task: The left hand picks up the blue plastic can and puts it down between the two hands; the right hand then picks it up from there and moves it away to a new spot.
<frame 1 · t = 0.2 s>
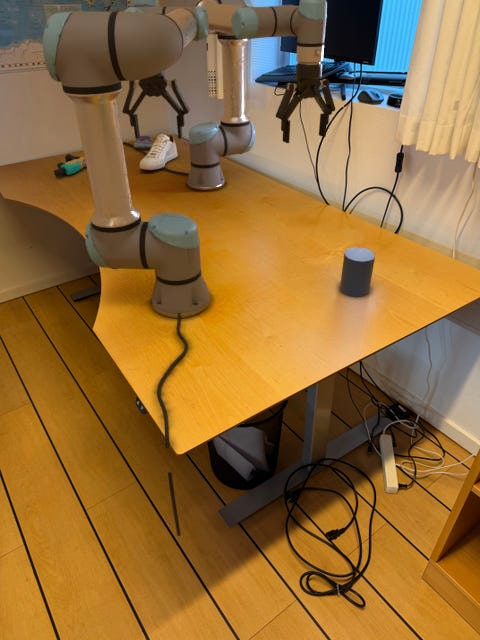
left hand: (158, 137, 149), 29 cm above the table, tool pointing down, fingers open, 13 cm apart
right hand: (304, 139, 149), 28 cm above the table, tool pointing down, fingers open, 13 cm apart
toy gun: (152, 147, 240), on the table
sneaker: (158, 164, 218), on the table
toy gun 2: (71, 170, 213), on the table
can: (354, 289, 130), on the table
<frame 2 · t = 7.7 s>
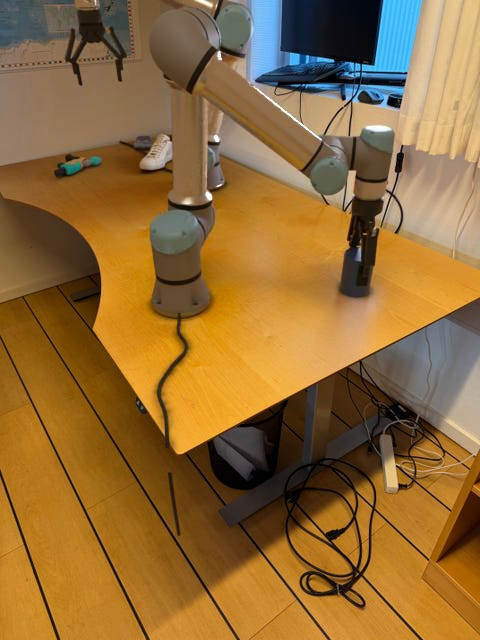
left hand: (356, 276, 127), 4 cm above the table, tool pointing down, fingers closed on can, 8 cm apart
right hand: (100, 83, 162), 40 cm above the table, tool pointing down, fingers open, 13 cm apart
can: (354, 289, 130), on the table, touching left hand
everything else where it was.
when the left hand's fingers open (5 cm above the table, at t = 14.7 s): can drops 1 cm, on the table.
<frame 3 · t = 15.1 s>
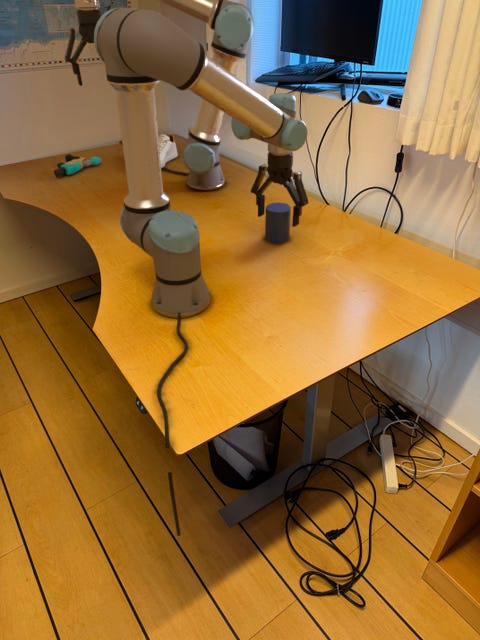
left hand: (277, 220, 151), 6 cm above the table, tool pointing down, fingers open, 12 cm apart
right hand: (100, 83, 162), 40 cm above the table, tool pointing down, fingers open, 13 cm apart
can: (277, 238, 155), on the table
everything else where it was.
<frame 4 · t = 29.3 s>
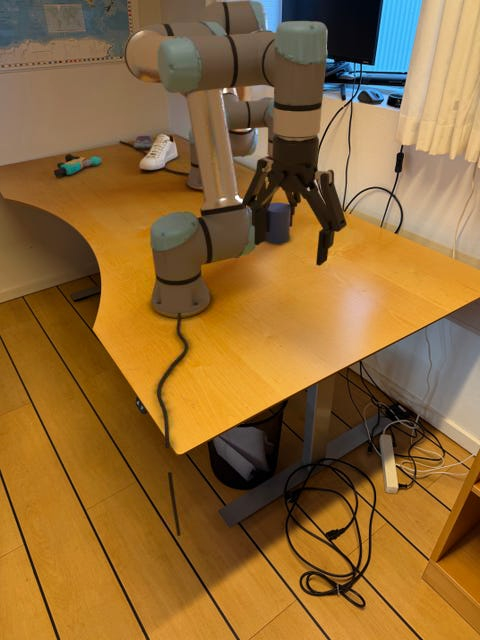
left hand: (289, 252, 89), 28 cm above the table, tool pointing down, fingers open, 13 cm apart
right hand: (277, 227, 153), 4 cm above the table, tool pointing down, fingers closed on can, 8 cm apart
can: (277, 238, 155), on the table, touching right hand
everything else where it was.
when the right hand's fingers open (5 cm above the table, at t = 40.9 s): can drops 1 cm, on the table.
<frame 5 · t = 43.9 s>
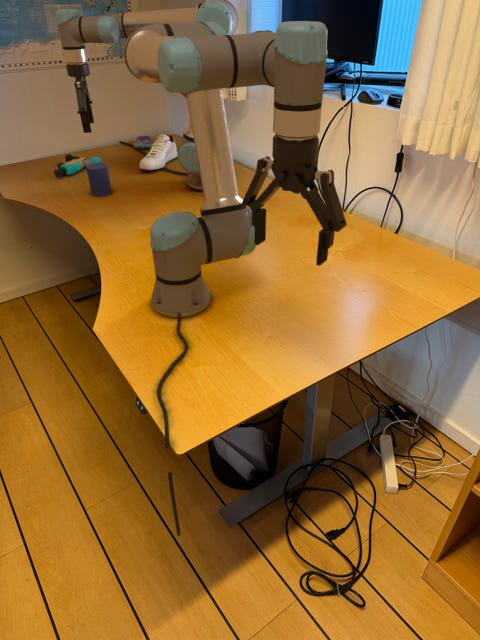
left hand: (289, 252, 89), 28 cm above the table, tool pointing down, fingers open, 13 cm apart
right hand: (89, 127, 175), 25 cm above the table, tool pointing down, fingers open, 13 cm apart
can: (101, 192, 190), on the table
everything else where it was.
at the end: can inside the target area (0.1 cm from its centre), on the table; can tilted 0°; the two hands never held the can at the same time; the left hand is holding nothing; the right hand is holding nothing; can at rest at the end (0.0 cm/s) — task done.
